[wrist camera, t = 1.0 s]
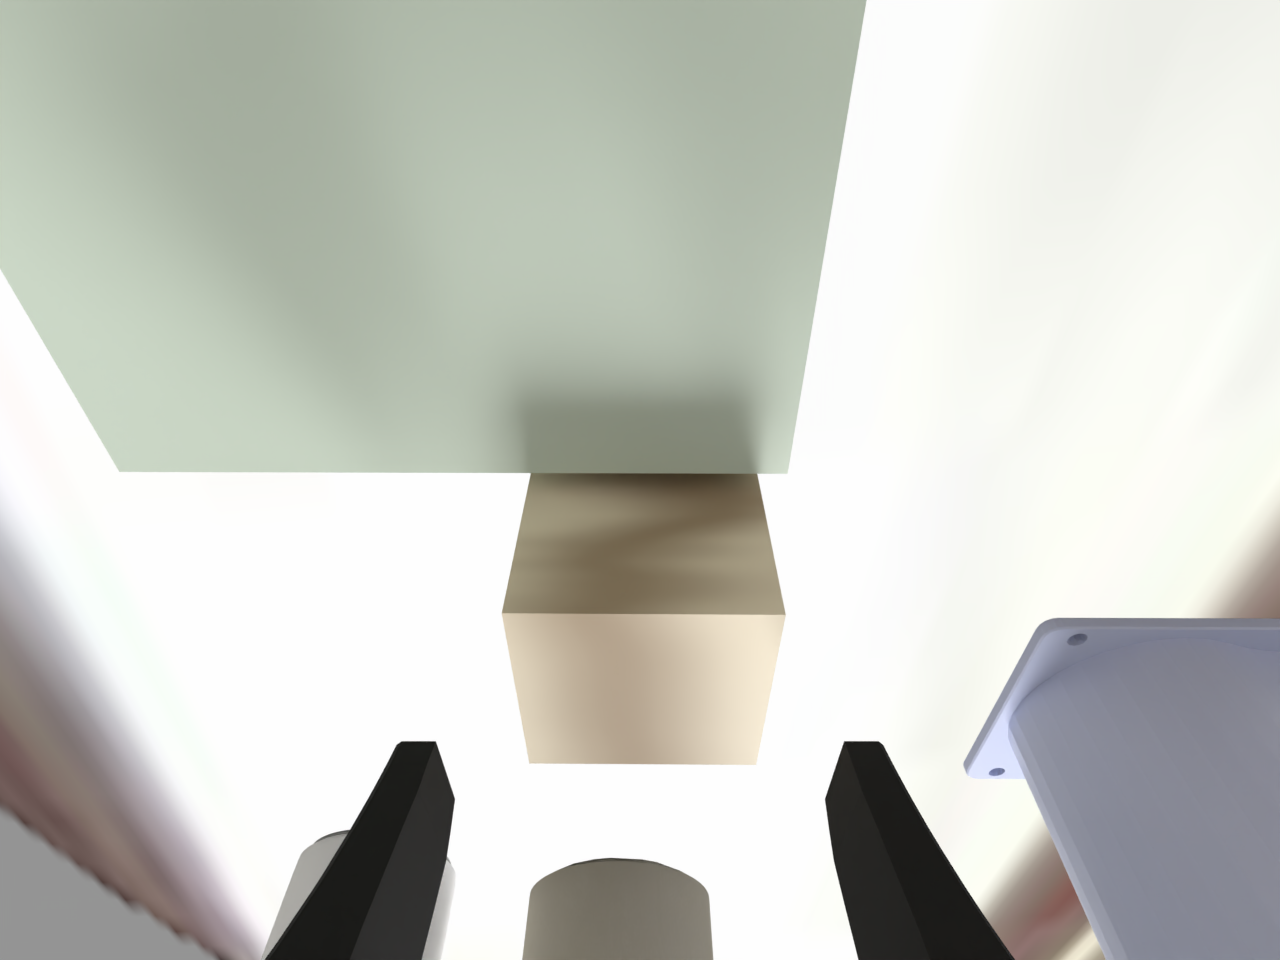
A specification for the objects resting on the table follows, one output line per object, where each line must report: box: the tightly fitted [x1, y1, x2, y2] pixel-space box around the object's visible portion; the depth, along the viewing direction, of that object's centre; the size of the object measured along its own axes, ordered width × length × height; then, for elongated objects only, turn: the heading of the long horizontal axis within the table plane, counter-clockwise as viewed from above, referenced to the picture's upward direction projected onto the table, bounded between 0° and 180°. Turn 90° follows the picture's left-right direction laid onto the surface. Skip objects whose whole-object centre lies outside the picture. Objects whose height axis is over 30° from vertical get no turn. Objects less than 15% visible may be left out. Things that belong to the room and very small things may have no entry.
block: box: [502, 473, 786, 765], centre depth 16 cm, size 5×5×5 cm
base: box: [0, 0, 867, 474], centre depth 11 cm, size 14×14×2 cm
